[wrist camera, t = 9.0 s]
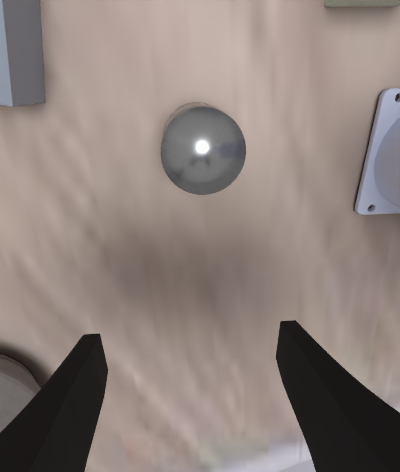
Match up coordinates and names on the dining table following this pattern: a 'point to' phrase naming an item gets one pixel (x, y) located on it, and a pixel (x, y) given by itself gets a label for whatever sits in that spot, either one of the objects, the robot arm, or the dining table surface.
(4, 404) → the coffee pot
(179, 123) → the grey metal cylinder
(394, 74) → the dining table surface
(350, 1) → the sage block
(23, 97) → the slate blue block
